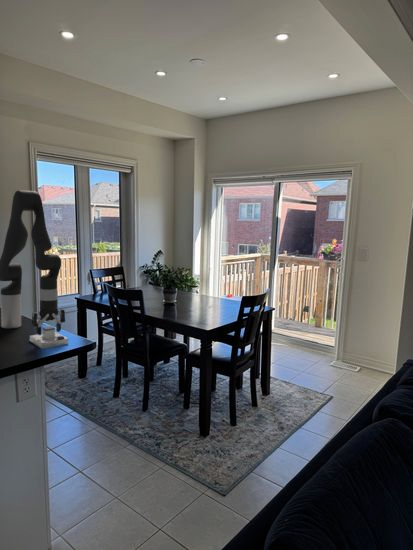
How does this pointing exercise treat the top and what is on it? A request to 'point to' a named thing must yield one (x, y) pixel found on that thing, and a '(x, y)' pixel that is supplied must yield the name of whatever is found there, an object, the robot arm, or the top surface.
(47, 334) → the plug
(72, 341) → the top surface
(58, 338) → the socket
